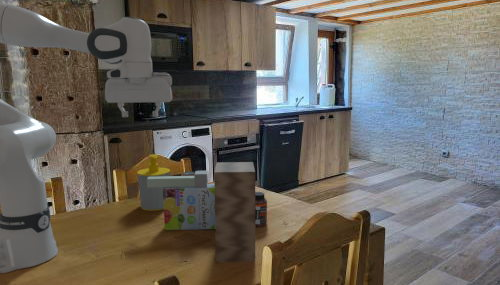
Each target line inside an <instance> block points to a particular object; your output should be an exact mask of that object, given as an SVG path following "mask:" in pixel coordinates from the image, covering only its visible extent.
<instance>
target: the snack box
mask: <svg viewBox="0 0 500 285" xmlns="http://www.w3.org/2000/svg"><path fill="white" fill-rule="evenodd" d="M163 201H164V209H163V215H164V216H163V220H164V223H163V224H164V231H179V230H180V231H184V230H185V231H186V230H187V231H188V230H189V231H190V230H191V231H192V230H193V231H194V230H215V183H208V184H207V187H164V188H163Z"/></svg>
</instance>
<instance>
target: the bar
mask: <svg viewBox="0 0 500 285" xmlns="http://www.w3.org/2000/svg"><path fill="white" fill-rule="evenodd" d="M194 172H195V176H182V175H175V176H174V175H170V176H159V177H148V178H147V188H154V187H207V184H209V183H208V170H195V171H194Z"/></svg>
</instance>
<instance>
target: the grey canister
mask: <svg viewBox="0 0 500 285" xmlns="http://www.w3.org/2000/svg"><path fill="white" fill-rule="evenodd" d="M147 157H148V158H150V159H149V160H150V163H148V168H147V167H146V168H143V169H139V170H138V171H137V172H136V173H137V182H138V190H139V191H138V192H139V200H140V208H141V210H144V211H152V212H155V211H161V210H164V201H163V188H164V187H154V188H147V178H148V177H159V176H171V169H170V168H167V167H160V166H159V163H158V162H157V159H158V157H159V155H158V154H149V155H148V156H147Z"/></svg>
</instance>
